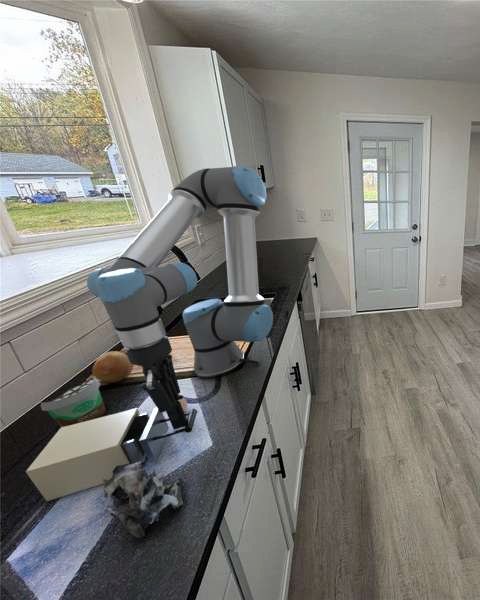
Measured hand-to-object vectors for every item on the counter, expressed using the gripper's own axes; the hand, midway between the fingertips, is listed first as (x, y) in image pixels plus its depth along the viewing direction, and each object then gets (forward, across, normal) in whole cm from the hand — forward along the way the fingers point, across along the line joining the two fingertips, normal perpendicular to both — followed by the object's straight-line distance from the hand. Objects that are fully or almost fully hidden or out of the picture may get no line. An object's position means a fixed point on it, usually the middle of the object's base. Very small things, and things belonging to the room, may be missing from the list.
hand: (180, 425), depth 76 cm
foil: (+5, +17, -3) cm, 18 cm away
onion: (+5, -41, -27) cm, 49 cm away
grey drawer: (+4, 0, -8) cm, 8 cm away
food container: (+5, -21, -27) cm, 34 cm away
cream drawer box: (+4, 0, -17) cm, 17 cm away
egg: (+5, -12, -4) cm, 13 cm away
